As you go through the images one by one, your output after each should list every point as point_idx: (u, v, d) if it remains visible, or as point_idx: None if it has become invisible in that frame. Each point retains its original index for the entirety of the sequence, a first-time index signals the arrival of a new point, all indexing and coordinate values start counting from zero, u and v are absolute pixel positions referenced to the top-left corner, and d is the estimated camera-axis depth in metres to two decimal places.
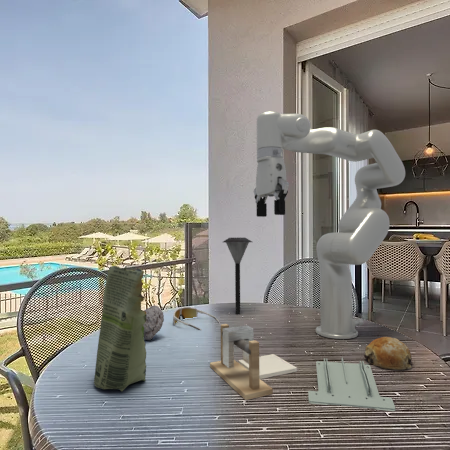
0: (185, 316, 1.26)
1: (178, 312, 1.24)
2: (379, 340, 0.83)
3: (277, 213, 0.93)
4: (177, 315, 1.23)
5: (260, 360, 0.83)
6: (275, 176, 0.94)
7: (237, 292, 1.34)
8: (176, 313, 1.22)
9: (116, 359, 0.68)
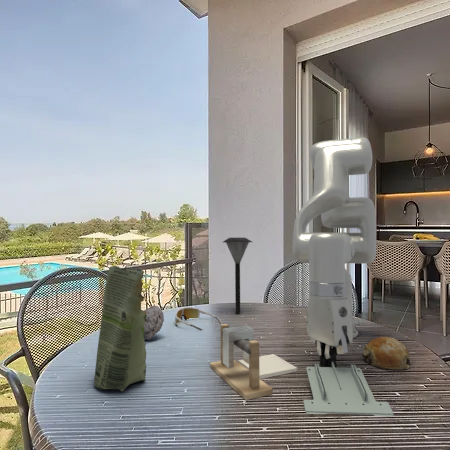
0: (187, 316, 1.26)
1: (180, 312, 1.23)
2: (377, 340, 0.83)
3: None
4: (179, 315, 1.23)
5: (260, 360, 0.83)
6: (338, 326, 0.70)
7: (237, 292, 1.34)
8: (178, 313, 1.22)
9: (116, 359, 0.68)
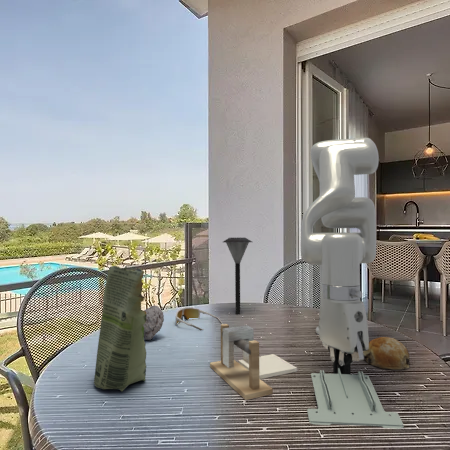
0: (187, 316, 1.26)
1: (180, 312, 1.23)
2: (377, 340, 0.83)
3: None
4: (179, 315, 1.23)
5: (260, 360, 0.83)
6: (354, 332, 0.66)
7: (237, 292, 1.34)
8: (178, 313, 1.22)
9: (116, 359, 0.68)
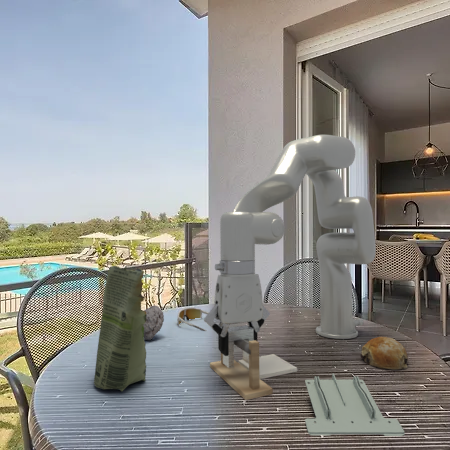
0: (189, 317, 1.25)
1: (182, 313, 1.23)
2: (375, 340, 0.83)
3: (221, 351, 0.74)
4: (181, 316, 1.22)
5: (260, 360, 0.83)
6: (214, 299, 0.74)
7: None
8: (180, 314, 1.21)
9: (116, 359, 0.68)
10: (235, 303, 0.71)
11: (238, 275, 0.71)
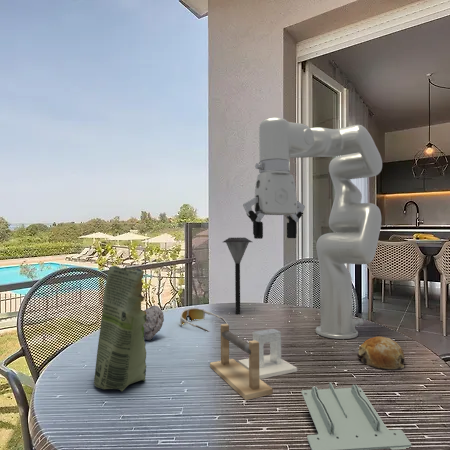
0: (192, 317, 1.25)
1: (185, 313, 1.22)
2: (372, 340, 0.84)
3: (255, 237, 0.84)
4: (184, 316, 1.21)
5: None
6: (255, 196, 0.84)
7: (237, 292, 1.34)
8: (183, 314, 1.21)
9: (116, 359, 0.68)
10: (274, 195, 0.82)
11: (277, 171, 0.82)
